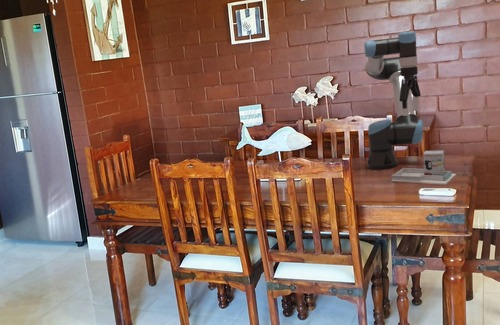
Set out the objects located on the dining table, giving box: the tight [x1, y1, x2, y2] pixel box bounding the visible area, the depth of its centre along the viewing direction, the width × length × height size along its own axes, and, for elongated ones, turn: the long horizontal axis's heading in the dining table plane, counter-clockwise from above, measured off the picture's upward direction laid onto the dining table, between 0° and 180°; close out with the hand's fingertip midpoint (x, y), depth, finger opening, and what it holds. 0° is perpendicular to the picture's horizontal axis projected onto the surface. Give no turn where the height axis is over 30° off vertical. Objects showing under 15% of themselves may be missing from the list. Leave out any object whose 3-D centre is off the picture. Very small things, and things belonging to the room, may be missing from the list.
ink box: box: [423, 150, 446, 176], centre depth 225 cm, size 9×5×12 cm, turn 65°
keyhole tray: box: [390, 167, 457, 186], centre depth 229 cm, size 16×24×3 cm, turn 53°
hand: (411, 113), depth 234 cm, fingers open, 13 cm apart
